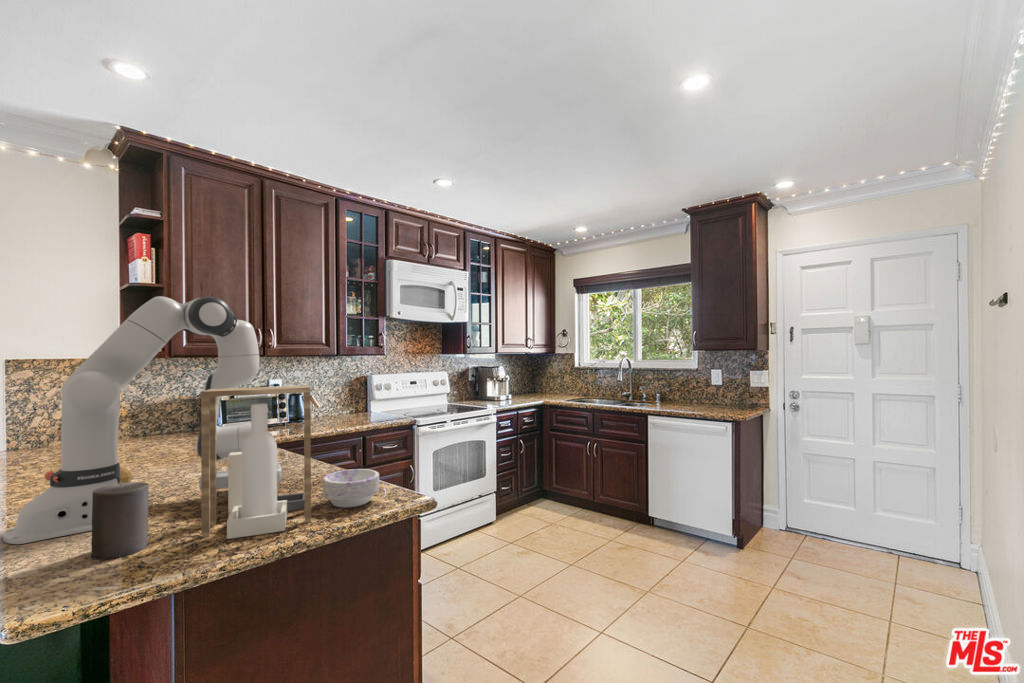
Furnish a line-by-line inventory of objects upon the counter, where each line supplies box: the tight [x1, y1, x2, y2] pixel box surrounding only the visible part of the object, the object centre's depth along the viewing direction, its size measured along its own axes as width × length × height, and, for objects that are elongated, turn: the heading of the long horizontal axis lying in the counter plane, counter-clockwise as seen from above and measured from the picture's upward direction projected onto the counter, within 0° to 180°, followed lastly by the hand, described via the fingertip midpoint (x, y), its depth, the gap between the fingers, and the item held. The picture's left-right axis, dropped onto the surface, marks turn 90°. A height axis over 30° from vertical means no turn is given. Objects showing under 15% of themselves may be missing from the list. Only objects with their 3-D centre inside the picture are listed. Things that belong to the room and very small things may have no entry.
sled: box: [226, 452, 288, 540], centre depth 122 cm, size 22×14×16 cm, turn 23°
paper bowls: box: [322, 468, 380, 509], centre depth 136 cm, size 15×15×8 cm
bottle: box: [241, 402, 278, 518], centre depth 119 cm, size 8×8×30 cm
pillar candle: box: [90, 481, 150, 561], centre depth 105 cm, size 10×10×15 cm
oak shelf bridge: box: [200, 384, 312, 538], centre depth 121 cm, size 10×24×34 cm, turn 113°
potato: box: [119, 466, 133, 484], centre depth 153 cm, size 10×14×8 cm
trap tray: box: [277, 492, 305, 512], centre depth 132 cm, size 8×14×2 cm, turn 113°
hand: (239, 484), depth 129 cm, fingers closed, pressing on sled
